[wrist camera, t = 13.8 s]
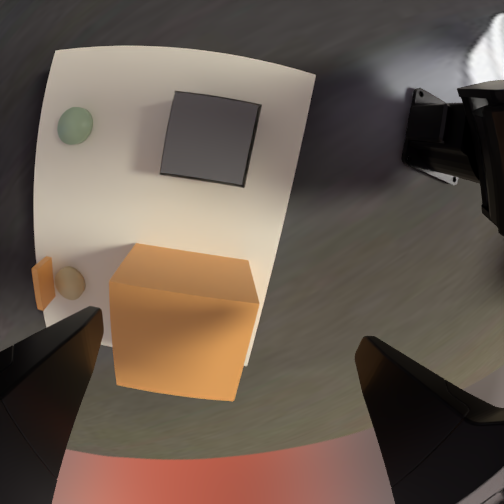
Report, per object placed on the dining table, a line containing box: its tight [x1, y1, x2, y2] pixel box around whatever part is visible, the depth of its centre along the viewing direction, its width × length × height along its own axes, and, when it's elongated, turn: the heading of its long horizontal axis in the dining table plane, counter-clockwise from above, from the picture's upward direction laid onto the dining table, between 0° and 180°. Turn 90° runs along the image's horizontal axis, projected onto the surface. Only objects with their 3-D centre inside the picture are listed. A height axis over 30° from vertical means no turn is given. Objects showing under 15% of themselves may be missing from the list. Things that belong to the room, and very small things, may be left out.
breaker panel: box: [31, 46, 316, 366], centre depth 16 cm, size 16×20×5 cm
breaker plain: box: [161, 92, 258, 185], centre depth 14 cm, size 4×4×3 cm
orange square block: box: [109, 243, 260, 401], centre depth 16 cm, size 7×7×5 cm
